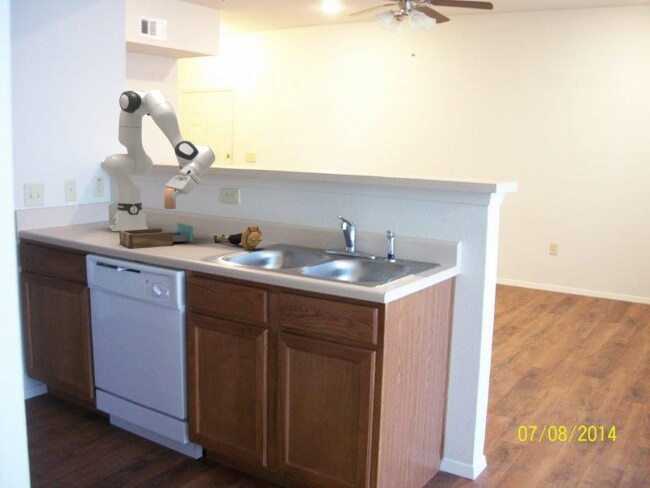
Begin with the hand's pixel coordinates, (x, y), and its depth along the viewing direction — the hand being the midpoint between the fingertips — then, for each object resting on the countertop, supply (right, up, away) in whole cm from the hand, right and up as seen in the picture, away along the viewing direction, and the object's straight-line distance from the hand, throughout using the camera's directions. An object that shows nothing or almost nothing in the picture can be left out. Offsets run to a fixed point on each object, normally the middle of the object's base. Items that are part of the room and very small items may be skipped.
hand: (168, 197), depth 281 cm
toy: (+31, -22, 0) cm, 39 cm away
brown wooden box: (-9, -21, -3) cm, 23 cm away
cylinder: (0, -5, +1) cm, 5 cm away
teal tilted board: (-2, -19, +2) cm, 19 cm away
